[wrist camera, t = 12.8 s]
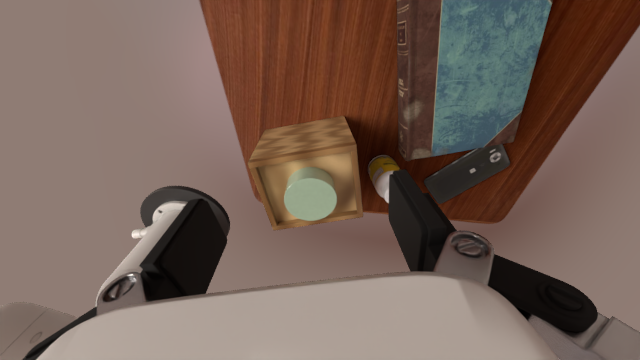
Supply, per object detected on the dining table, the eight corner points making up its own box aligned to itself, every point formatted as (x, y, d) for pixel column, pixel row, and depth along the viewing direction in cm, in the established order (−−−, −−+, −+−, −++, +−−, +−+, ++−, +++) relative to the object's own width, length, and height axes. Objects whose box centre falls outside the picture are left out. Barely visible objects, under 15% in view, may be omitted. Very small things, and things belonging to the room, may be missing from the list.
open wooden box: (282, 186, 46) (273, 230, 35) (264, 130, 39) (247, 163, 29) (350, 175, 45) (363, 217, 34) (344, 115, 39) (356, 144, 28)
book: (394, -4, 30) (407, -11, 26) (531, -36, 29) (569, -50, 25) (396, 149, 42) (406, 161, 38) (494, 131, 41) (515, 141, 37)
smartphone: (508, 163, 44) (511, 165, 44) (437, 203, 49) (439, 205, 48) (496, 135, 41) (499, 136, 40) (421, 180, 46) (423, 182, 45)
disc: (292, 210, 34) (291, 224, 32) (280, 171, 31) (277, 183, 28) (338, 203, 34) (340, 216, 31) (331, 162, 30) (333, 174, 28)
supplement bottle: (400, 162, 44) (421, 190, 35) (382, 182, 46) (398, 213, 38) (378, 149, 42) (395, 175, 34) (361, 170, 44) (373, 200, 36)
